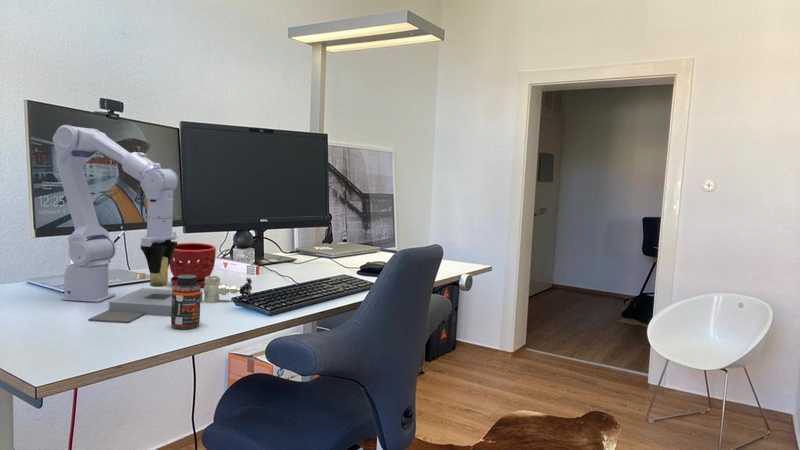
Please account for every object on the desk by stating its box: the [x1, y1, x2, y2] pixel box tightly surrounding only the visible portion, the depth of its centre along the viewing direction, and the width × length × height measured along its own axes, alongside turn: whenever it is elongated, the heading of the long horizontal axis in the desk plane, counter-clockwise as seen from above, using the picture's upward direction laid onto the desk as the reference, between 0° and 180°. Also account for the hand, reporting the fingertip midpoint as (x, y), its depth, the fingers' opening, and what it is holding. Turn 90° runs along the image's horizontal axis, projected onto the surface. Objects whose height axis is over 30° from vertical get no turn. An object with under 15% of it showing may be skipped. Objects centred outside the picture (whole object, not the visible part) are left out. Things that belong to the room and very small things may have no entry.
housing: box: [108, 287, 203, 317], centre depth 133 cm, size 16×16×2 cm
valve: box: [203, 275, 253, 304], centre depth 142 cm, size 7×7×12 cm
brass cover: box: [149, 256, 169, 288], centre depth 132 cm, size 4×4×7 cm
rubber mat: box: [87, 309, 145, 324], centre depth 122 cm, size 9×9×1 cm
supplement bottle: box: [170, 275, 202, 330], centre depth 118 cm, size 6×6×11 cm
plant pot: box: [169, 242, 217, 288], centre depth 158 cm, size 13×13×12 cm
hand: (158, 271), depth 132 cm, fingers closed on brass cover, 4 cm apart
